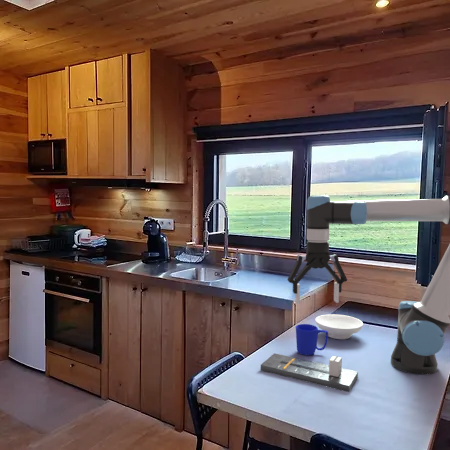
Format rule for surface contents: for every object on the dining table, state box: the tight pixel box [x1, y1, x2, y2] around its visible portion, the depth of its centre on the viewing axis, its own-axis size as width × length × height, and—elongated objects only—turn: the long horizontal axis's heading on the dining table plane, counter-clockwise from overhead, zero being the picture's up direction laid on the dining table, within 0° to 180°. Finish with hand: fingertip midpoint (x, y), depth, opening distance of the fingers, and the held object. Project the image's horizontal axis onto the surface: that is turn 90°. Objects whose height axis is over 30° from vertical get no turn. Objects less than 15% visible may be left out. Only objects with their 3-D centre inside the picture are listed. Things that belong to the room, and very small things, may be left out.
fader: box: [328, 355, 343, 377], centre depth 139 cm, size 3×4×5 cm
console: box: [260, 353, 359, 393], centre depth 144 cm, size 30×12×2 cm, turn 60°
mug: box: [295, 323, 329, 356], centre depth 162 cm, size 8×12×10 cm
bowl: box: [315, 313, 364, 340], centre depth 181 cm, size 20×20×7 cm
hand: (317, 302), depth 147 cm, fingers open, 13 cm apart
